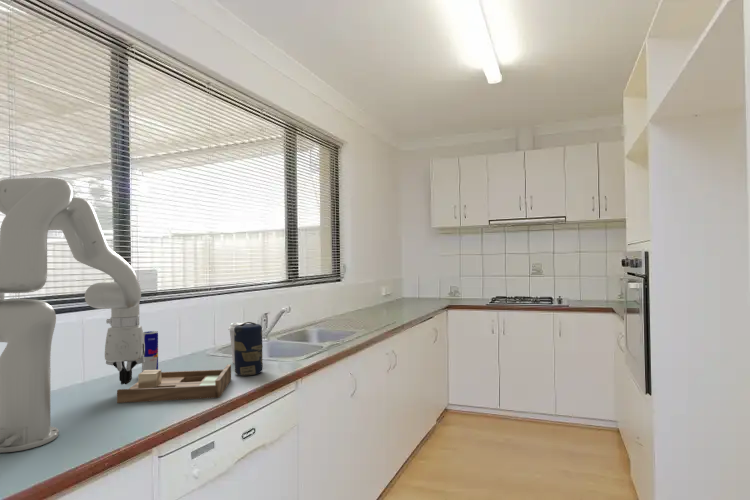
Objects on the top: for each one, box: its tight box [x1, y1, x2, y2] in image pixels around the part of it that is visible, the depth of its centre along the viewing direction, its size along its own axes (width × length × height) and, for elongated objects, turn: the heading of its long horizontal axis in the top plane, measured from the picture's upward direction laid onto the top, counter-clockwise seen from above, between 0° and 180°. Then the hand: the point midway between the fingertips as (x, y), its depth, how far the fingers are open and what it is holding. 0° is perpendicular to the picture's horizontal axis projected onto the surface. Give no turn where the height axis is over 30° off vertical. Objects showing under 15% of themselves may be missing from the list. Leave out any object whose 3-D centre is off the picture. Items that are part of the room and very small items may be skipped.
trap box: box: [116, 364, 232, 404], centre depth 142 cm, size 20×28×5 cm
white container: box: [228, 321, 251, 365], centre depth 180 cm, size 10×10×15 cm
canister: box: [234, 321, 263, 376], centre depth 162 cm, size 10×10×18 cm
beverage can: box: [141, 330, 159, 372], centre depth 162 cm, size 5×5×15 cm
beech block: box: [137, 369, 162, 388], centre depth 141 cm, size 5×5×4 cm
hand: (125, 383), depth 140 cm, fingers closed
